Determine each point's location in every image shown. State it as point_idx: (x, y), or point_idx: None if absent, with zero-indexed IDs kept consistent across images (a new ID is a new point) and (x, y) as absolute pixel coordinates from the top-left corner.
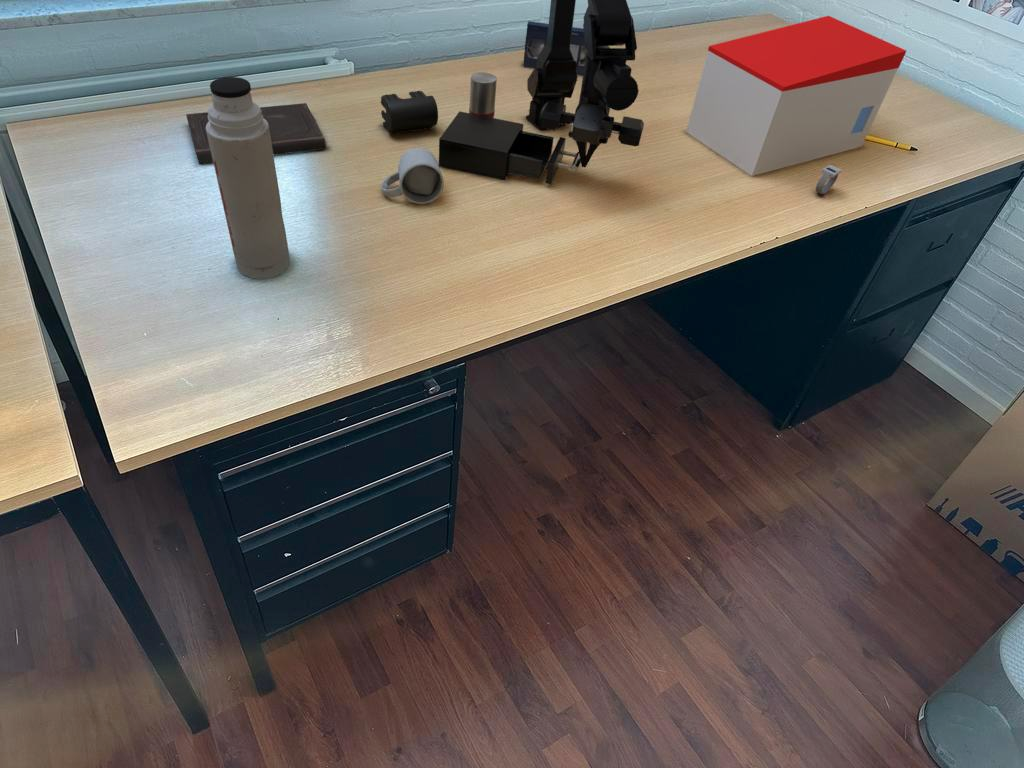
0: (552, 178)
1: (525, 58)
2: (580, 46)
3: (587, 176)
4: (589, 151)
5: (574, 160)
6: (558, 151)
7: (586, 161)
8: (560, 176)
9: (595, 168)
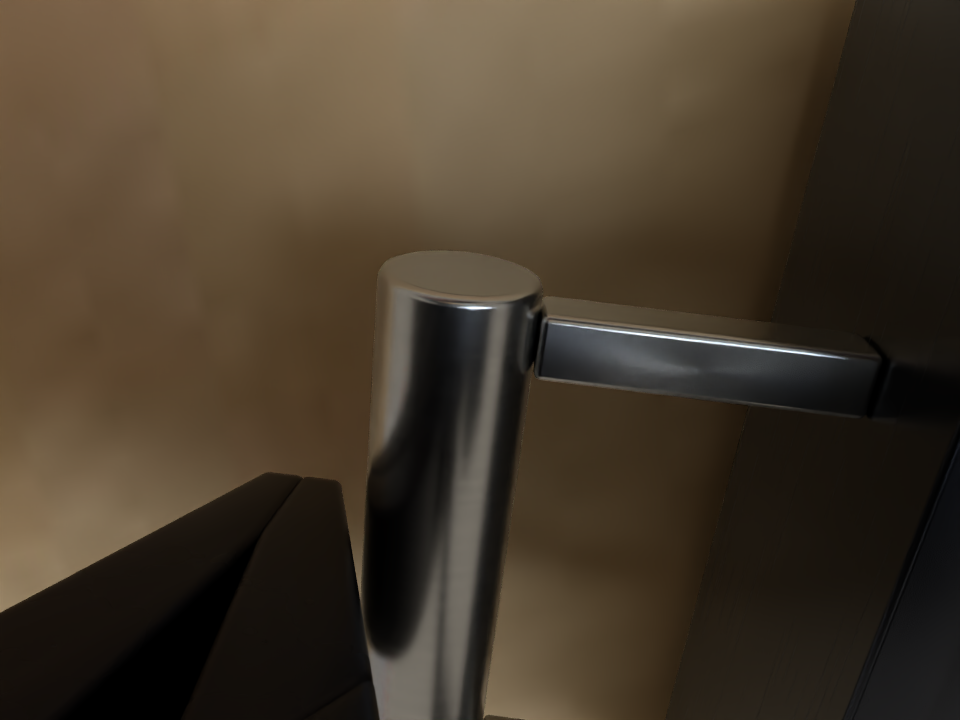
0: (880, 42)
1: None
2: None
3: None
4: (18, 690)
5: (479, 534)
6: (884, 705)
7: (214, 524)
8: (660, 404)
9: None
